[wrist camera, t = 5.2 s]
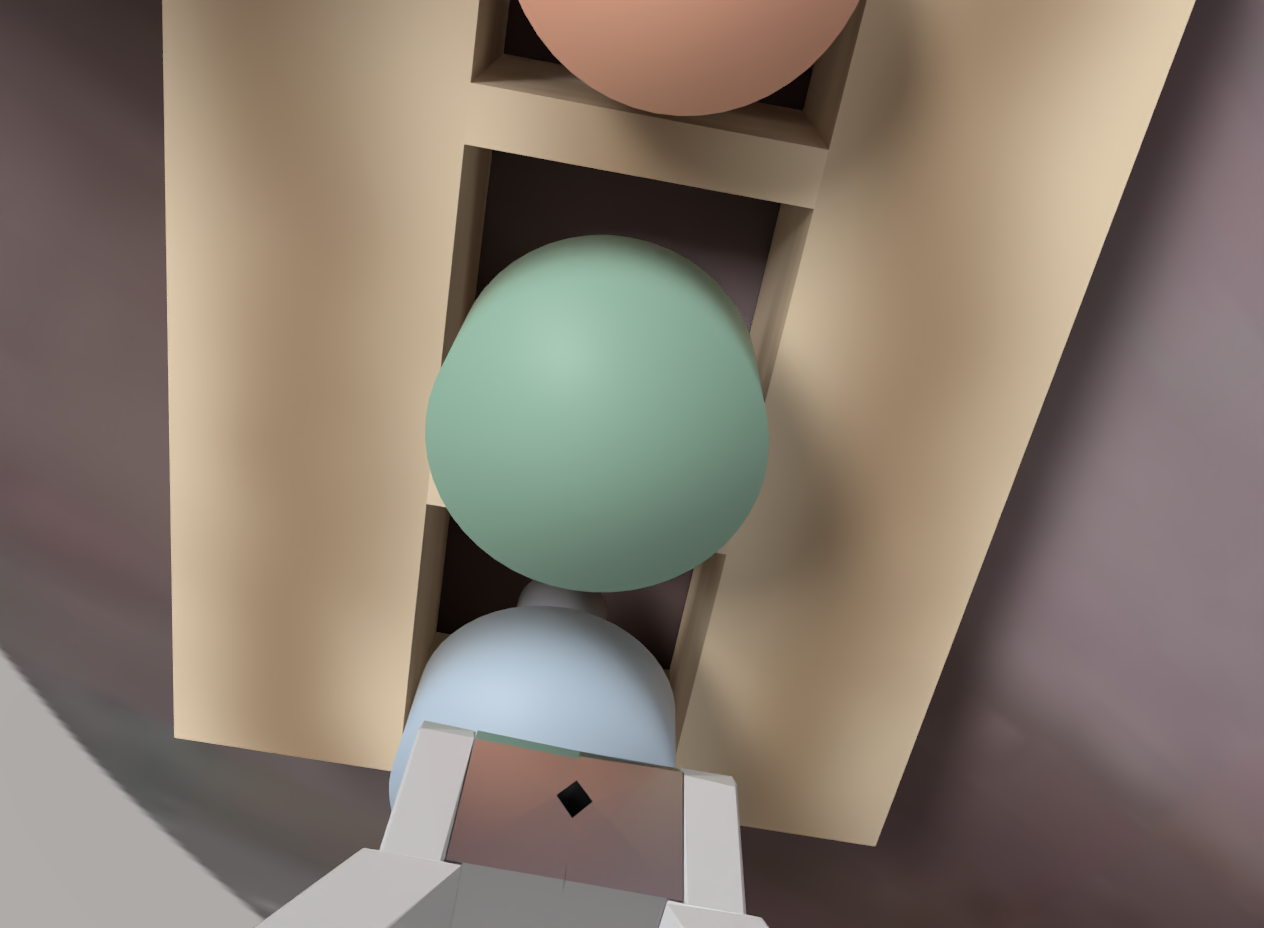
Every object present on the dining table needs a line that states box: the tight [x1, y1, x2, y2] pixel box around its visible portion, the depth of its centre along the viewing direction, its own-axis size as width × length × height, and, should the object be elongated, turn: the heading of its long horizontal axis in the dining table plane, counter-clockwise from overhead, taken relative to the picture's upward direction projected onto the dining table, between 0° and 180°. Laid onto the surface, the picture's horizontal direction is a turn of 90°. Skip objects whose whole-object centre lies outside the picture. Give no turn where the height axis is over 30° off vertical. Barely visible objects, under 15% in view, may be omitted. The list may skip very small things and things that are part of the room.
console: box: [162, 0, 1196, 846], centre depth 22 cm, size 16×22×4 cm
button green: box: [425, 235, 769, 592], centre depth 19 cm, size 5×5×6 cm
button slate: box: [389, 580, 676, 810], centre depth 22 cm, size 5×5×6 cm
